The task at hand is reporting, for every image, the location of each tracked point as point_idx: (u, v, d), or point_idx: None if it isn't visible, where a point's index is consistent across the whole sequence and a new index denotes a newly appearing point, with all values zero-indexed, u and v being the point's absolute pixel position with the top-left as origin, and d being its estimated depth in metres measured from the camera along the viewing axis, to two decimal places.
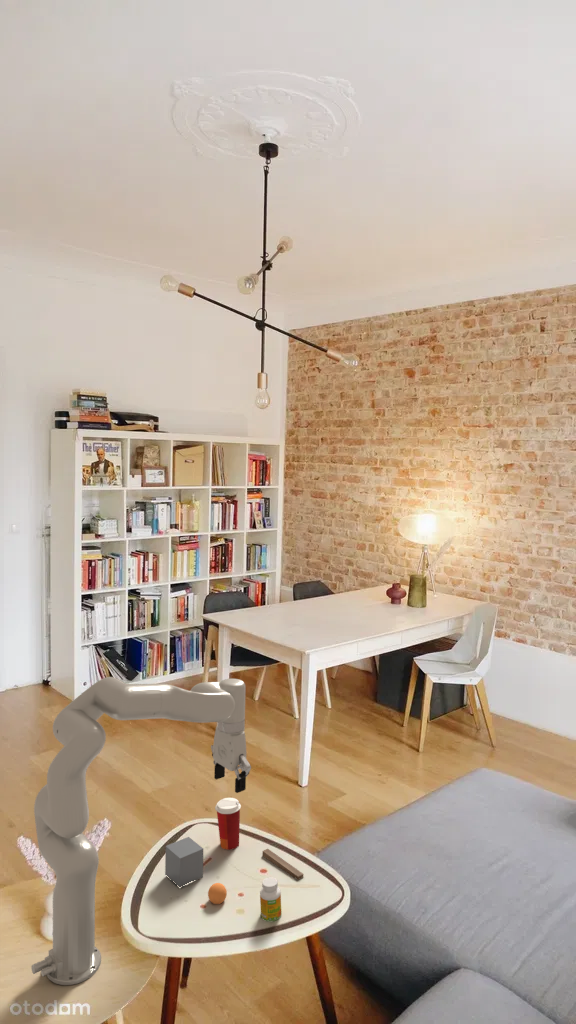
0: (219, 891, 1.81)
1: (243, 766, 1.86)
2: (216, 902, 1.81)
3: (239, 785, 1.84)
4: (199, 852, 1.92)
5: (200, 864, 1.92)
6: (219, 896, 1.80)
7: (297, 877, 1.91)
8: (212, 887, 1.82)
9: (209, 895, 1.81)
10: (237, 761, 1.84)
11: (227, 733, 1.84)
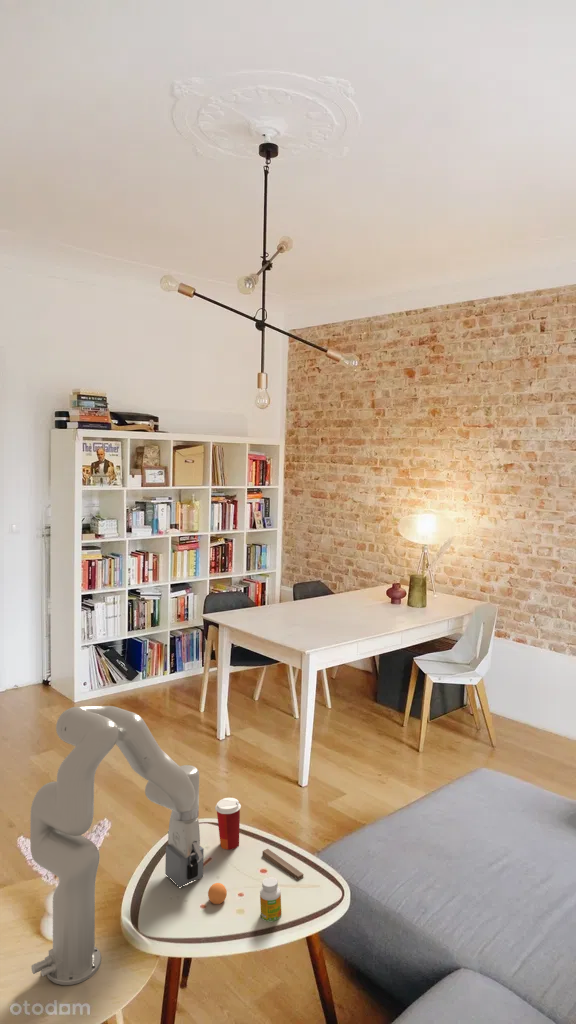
0: (219, 891, 1.81)
1: None
2: (216, 902, 1.81)
3: (191, 872, 1.89)
4: None
5: (200, 864, 1.92)
6: (219, 896, 1.80)
7: (297, 877, 1.91)
8: (212, 887, 1.82)
9: (209, 895, 1.81)
10: (190, 848, 1.88)
11: (180, 821, 1.88)
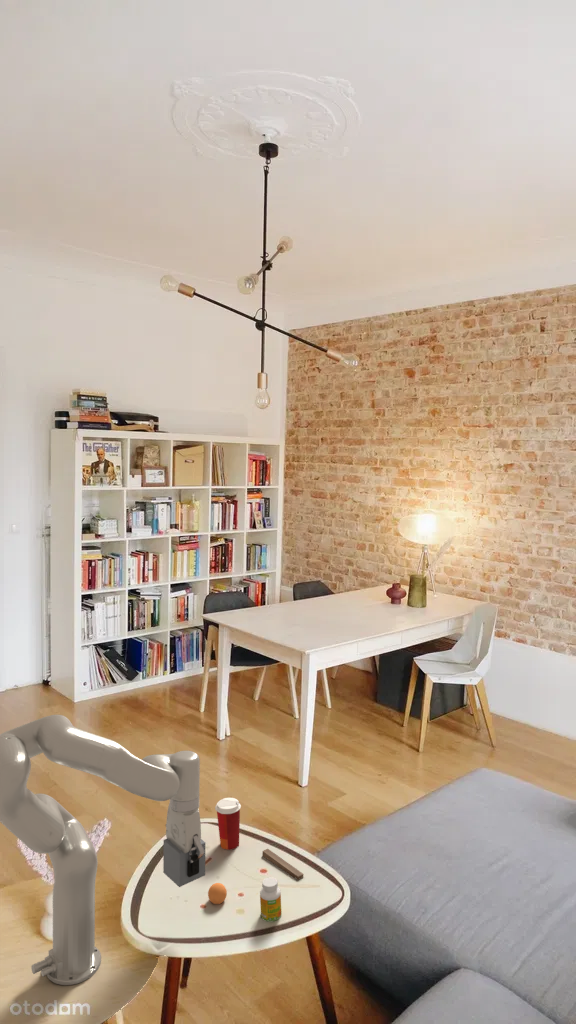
0: (219, 891, 1.81)
1: None
2: (216, 902, 1.81)
3: (191, 869, 1.70)
4: None
5: (202, 860, 1.74)
6: (219, 896, 1.80)
7: (297, 877, 1.91)
8: (212, 887, 1.82)
9: (209, 895, 1.81)
10: (190, 843, 1.69)
11: (179, 812, 1.70)
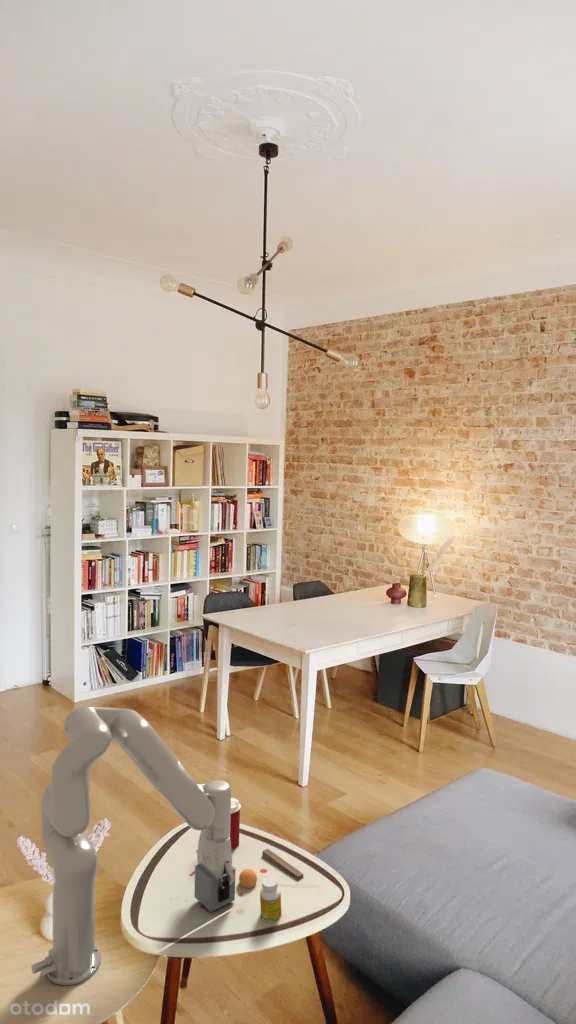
0: None
1: None
2: (256, 881, 1.89)
3: (222, 894, 1.78)
4: None
5: (232, 885, 1.81)
6: None
7: (297, 877, 1.91)
8: None
9: None
10: (222, 869, 1.77)
11: (212, 840, 1.77)
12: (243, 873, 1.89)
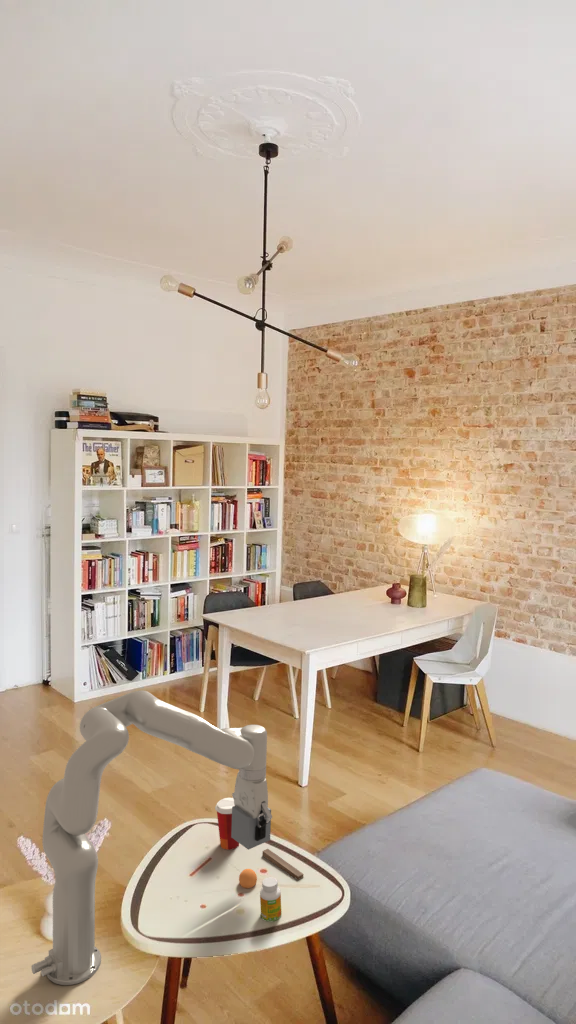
0: None
1: None
2: (256, 881, 1.89)
3: (259, 833, 1.85)
4: None
5: (268, 825, 1.88)
6: None
7: (297, 877, 1.91)
8: None
9: None
10: (259, 809, 1.83)
11: (249, 780, 1.84)
12: (243, 873, 1.89)
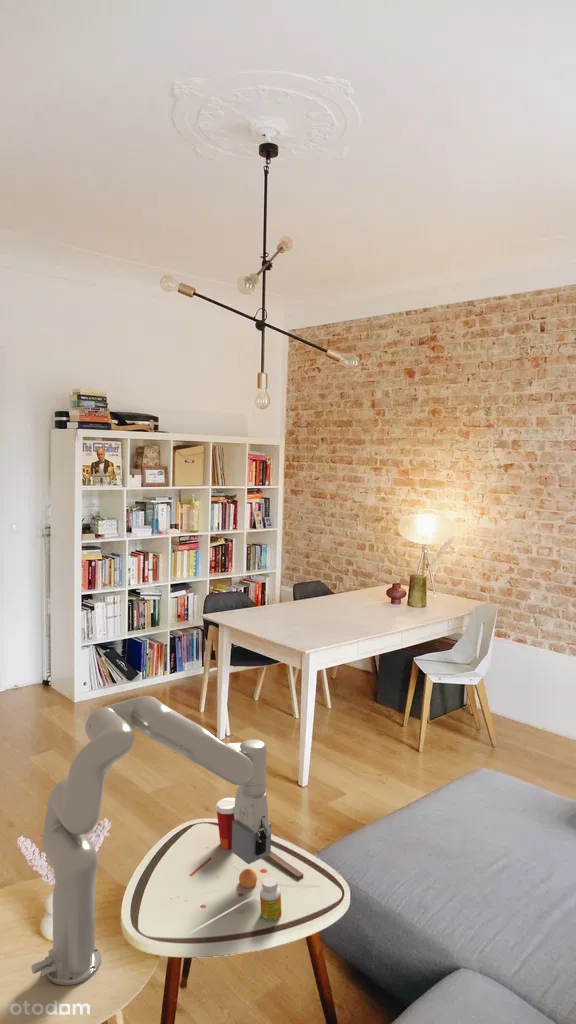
0: None
1: None
2: (256, 881, 1.89)
3: (259, 848, 1.85)
4: None
5: (268, 839, 1.88)
6: None
7: (297, 877, 1.91)
8: None
9: None
10: (259, 823, 1.84)
11: (249, 795, 1.84)
12: (243, 873, 1.89)
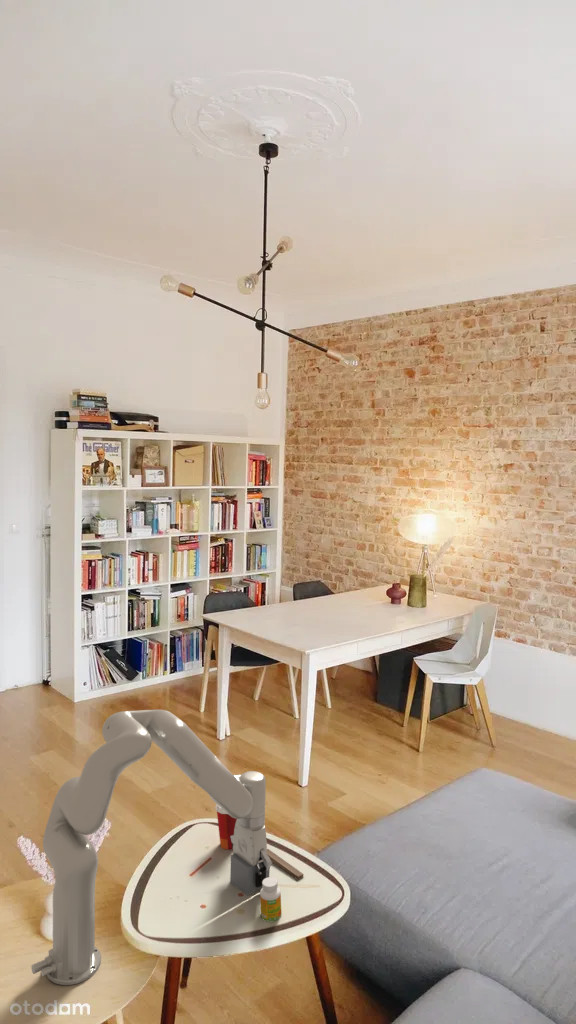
0: None
1: (263, 860, 1.87)
2: None
3: (259, 880, 1.85)
4: None
5: (266, 873, 1.89)
6: None
7: (297, 877, 1.91)
8: None
9: None
10: (258, 856, 1.84)
11: (248, 828, 1.85)
12: None
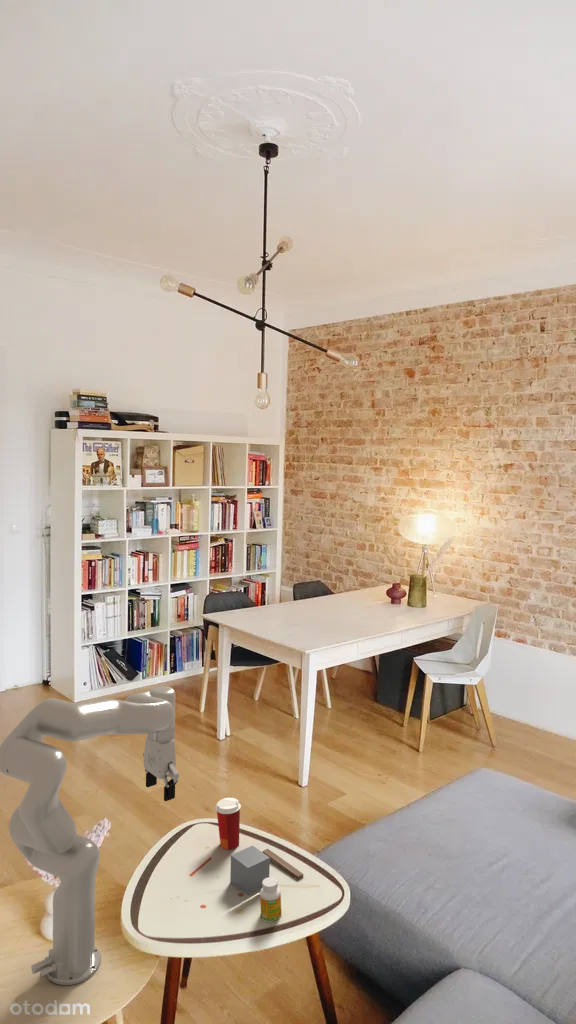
0: None
1: None
2: None
3: (167, 793, 1.84)
4: (266, 862, 1.88)
5: (266, 873, 1.89)
6: None
7: (297, 877, 1.91)
8: None
9: None
10: (165, 769, 1.83)
11: (156, 741, 1.83)
12: None
